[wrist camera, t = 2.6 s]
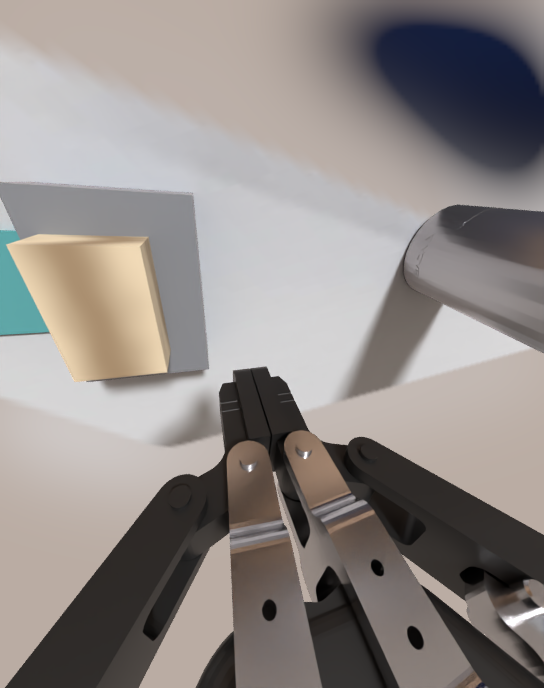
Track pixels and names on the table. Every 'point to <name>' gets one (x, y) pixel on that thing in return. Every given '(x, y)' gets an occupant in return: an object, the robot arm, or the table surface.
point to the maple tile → (97, 302)
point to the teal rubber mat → (15, 295)
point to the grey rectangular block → (136, 221)
